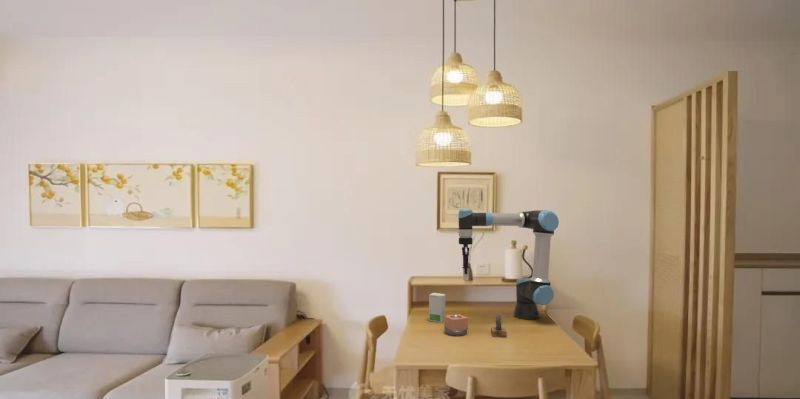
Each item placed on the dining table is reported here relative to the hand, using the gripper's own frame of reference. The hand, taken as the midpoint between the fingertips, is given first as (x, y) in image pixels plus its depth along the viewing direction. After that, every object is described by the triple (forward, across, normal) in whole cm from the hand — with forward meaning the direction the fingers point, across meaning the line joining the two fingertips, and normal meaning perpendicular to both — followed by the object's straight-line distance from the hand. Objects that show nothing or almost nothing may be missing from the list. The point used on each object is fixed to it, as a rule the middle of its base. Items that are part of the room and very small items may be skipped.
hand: (465, 279), depth 233 cm
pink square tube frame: (+24, +10, -6) cm, 27 cm away
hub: (+26, +10, -6) cm, 29 cm away
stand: (+26, +12, +16) cm, 33 cm away
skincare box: (+27, -14, -16) cm, 34 cm away
